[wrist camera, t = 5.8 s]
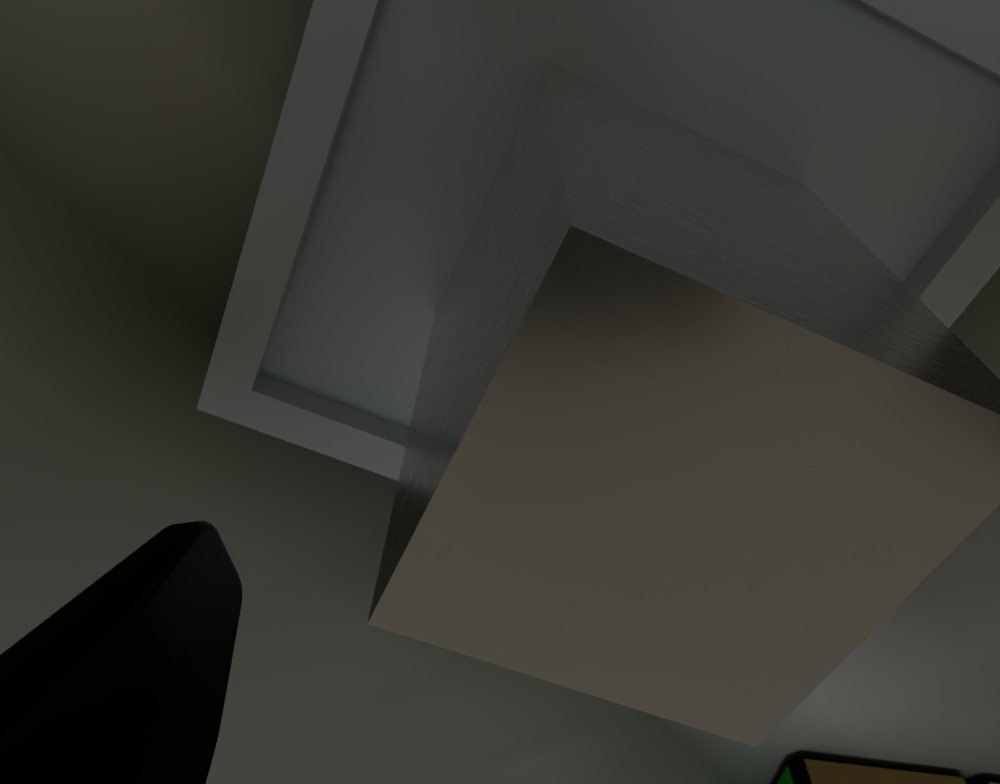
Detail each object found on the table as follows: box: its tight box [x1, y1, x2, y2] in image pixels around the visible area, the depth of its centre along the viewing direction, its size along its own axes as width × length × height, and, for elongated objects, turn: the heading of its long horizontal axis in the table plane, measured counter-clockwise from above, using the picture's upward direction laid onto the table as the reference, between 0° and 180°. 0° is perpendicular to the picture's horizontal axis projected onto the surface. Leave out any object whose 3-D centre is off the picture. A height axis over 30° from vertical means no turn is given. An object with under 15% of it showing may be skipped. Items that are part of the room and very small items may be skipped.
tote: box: [197, 0, 1000, 481], centre depth 13 cm, size 11×11×1 cm
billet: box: [367, 60, 1000, 747], centre depth 10 cm, size 4×4×7 cm
